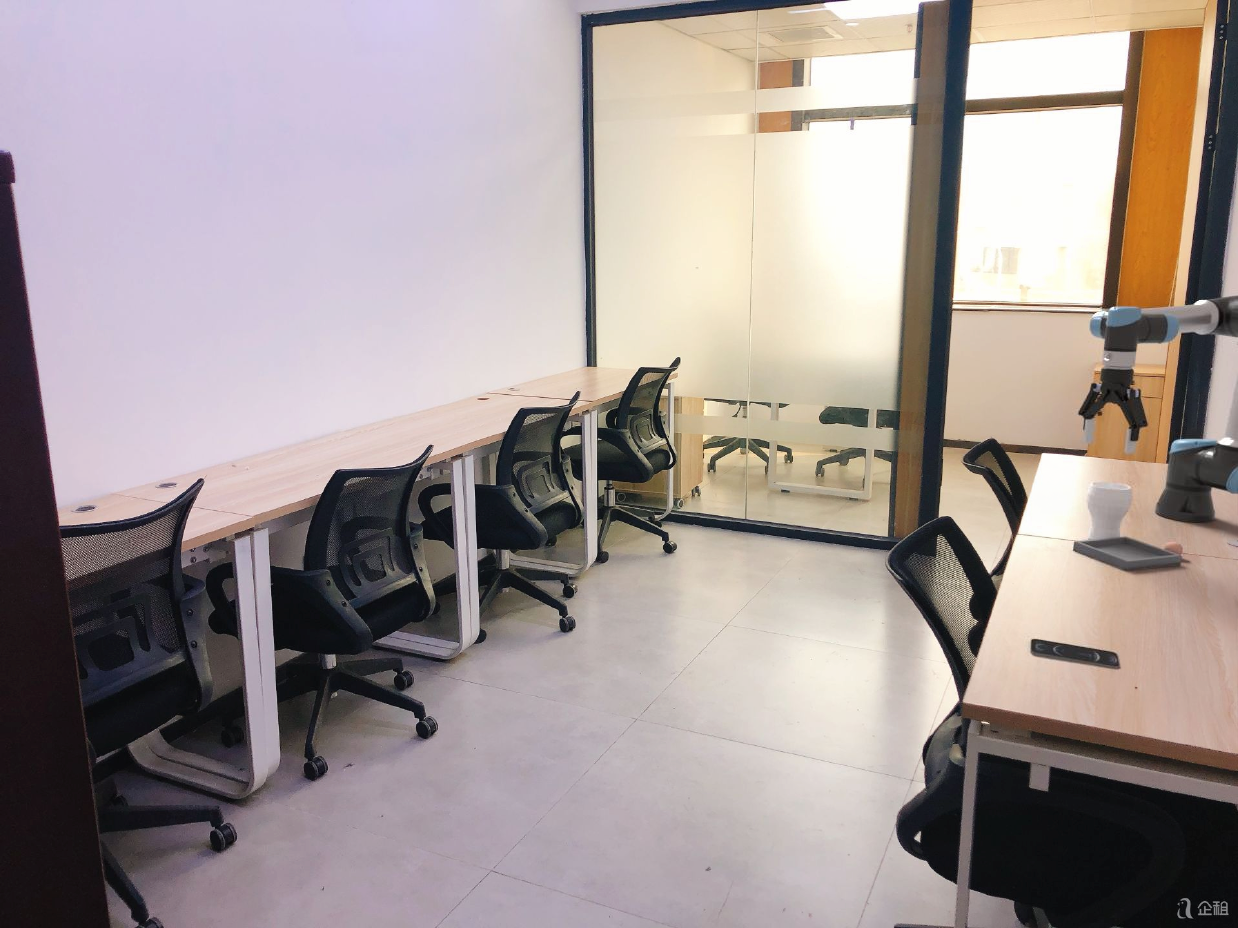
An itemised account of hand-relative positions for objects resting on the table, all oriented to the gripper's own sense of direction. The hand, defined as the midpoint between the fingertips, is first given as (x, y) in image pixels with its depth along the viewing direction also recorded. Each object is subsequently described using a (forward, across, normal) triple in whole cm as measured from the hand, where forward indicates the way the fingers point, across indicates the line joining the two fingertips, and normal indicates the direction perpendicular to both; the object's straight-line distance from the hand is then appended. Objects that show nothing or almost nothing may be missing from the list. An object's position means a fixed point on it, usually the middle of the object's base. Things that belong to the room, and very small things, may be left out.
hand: (1108, 448), depth 243 cm
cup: (+26, 0, +2) cm, 26 cm away
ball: (+25, +17, +7) cm, 31 cm away
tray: (+25, +14, -5) cm, 29 cm away
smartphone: (+25, +58, -63) cm, 90 cm away
